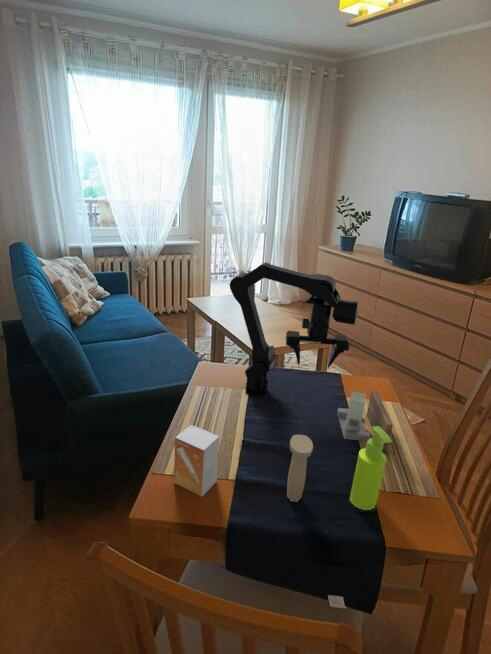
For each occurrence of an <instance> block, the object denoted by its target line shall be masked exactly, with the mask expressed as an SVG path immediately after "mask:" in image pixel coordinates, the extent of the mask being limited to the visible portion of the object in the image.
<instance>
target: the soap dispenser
mask: <svg viewBox="0 0 491 654" xmlns="http://www.w3.org/2000/svg"><path fill="white" fill-rule="evenodd" d="M370 430H371V431H373V432H374V433H373V432H372V437H370V439H368V441H367V442H366V447H364V448H361V449H360V450H359V452H358V456H357V461H356V465H355V471H354V475H353V480H352V485H351V490H350V496H349V502H350V501H351V503H352V504H353V505H354V506H355V507H357V508H359V509H362V510H371V509H373V508H375V509H376V507H377V502H378V498H379V495H380V489H381V485H382V480H383V477H384V472H385V468H386V464H387V457H386V455H385V454H384V453H382V450H383V443H390V444H391V443H393V440H392V439H391V436H390V437H389V436H388V435H387V433H386V432H385V431H384V430H383V429H382V428H380V427H379V426H374V427H371V426H370ZM351 503H350V504H351ZM375 506H376V507H375Z"/></svg>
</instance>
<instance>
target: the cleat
mask: <svg viewBox="0 0 491 654" xmlns="http://www.w3.org/2000/svg"><path fill="white" fill-rule="evenodd" d="M348 409H349V408H343V407H342V408H341V407H337V412H336V415H337V418H339V419H338V422H340V423H339V426H340V425H341V426H340V430H341V429H342V430H341V433H343V434H342V437H343V436H344V437H343V440H344V439H349V440H348V441H351V440H358V441H357V442H362V441H365V443H367V441H368V439H370V438H371V433H370V432H369V431H366V428H365V426H364V422H363V420H361V425H360V430H359V431H353V430H346V429H345V426H346V420H347V414H348ZM350 439H351V440H350Z"/></svg>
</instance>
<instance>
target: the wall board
mask: <svg viewBox="0 0 491 654" xmlns="http://www.w3.org/2000/svg"><path fill="white" fill-rule="evenodd" d="M368 401H369V402H368V406H367V411H366V418H367V421H368V424H369V426H370V428H371V427H374V426H379V427H380V428H382V429H383V430H384V431H385V432H386V433H387V435H388V436H389V437H390V438H391V434H392V431H393V426H394V424H393V422H392V420H391V418H390V415H389V414H388V412H387V409H386V407H385V405H384V403H383V401H382V398H381V397H380V394H379V392H378V390H373V389H372V390H371V392H370V397H369V400H368ZM371 431H372V430H371ZM373 433H374V432H373V431H372V434H373ZM382 453H383V454H384V453H385V454H393V453H394V451H393V448H392V445H391V443H383V450H382Z"/></svg>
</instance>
